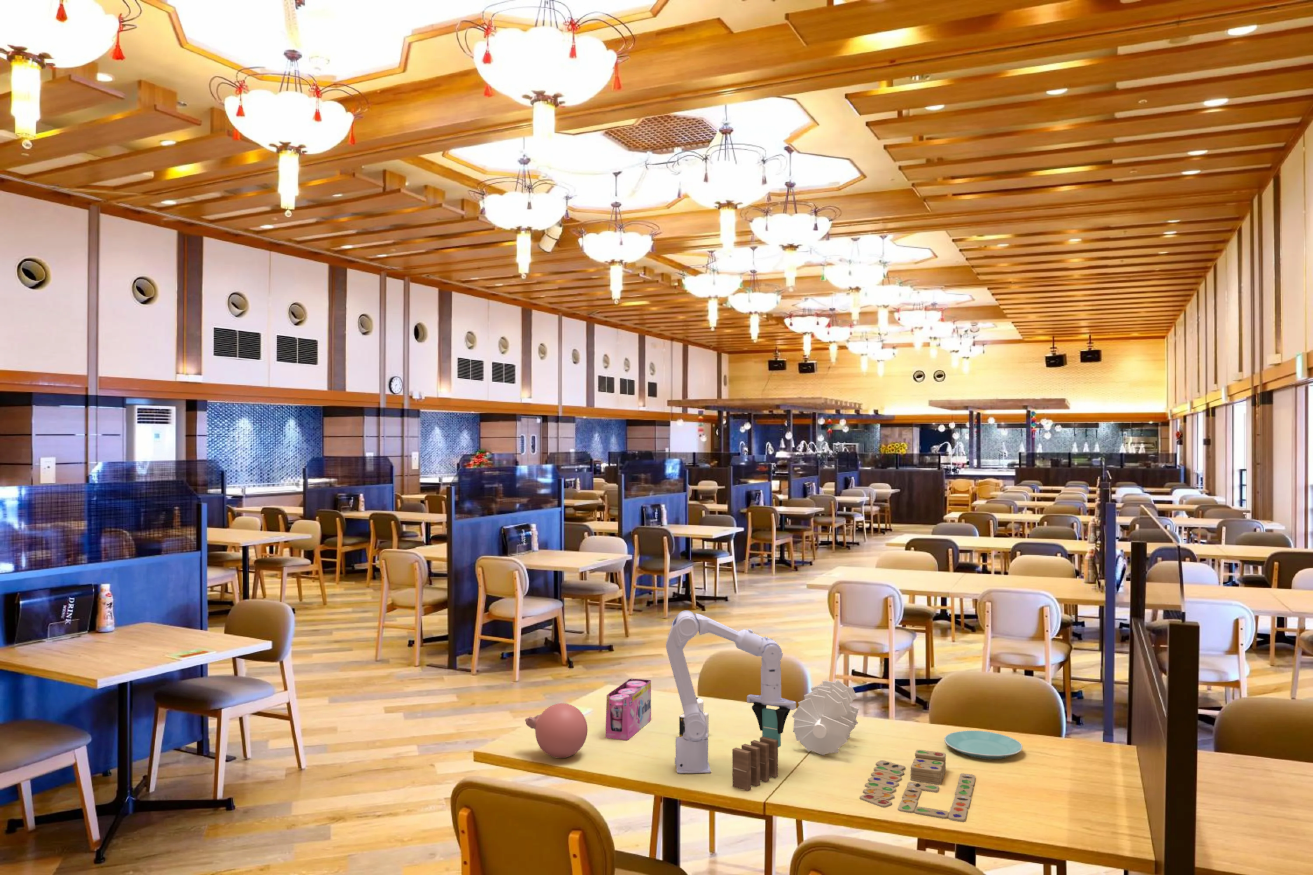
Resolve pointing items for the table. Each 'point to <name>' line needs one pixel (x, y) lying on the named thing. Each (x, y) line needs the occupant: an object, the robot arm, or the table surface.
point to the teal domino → (770, 725)
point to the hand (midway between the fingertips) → (771, 731)
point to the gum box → (628, 709)
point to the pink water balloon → (559, 730)
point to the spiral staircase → (825, 717)
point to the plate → (983, 744)
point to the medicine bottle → (681, 719)
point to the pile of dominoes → (918, 786)
